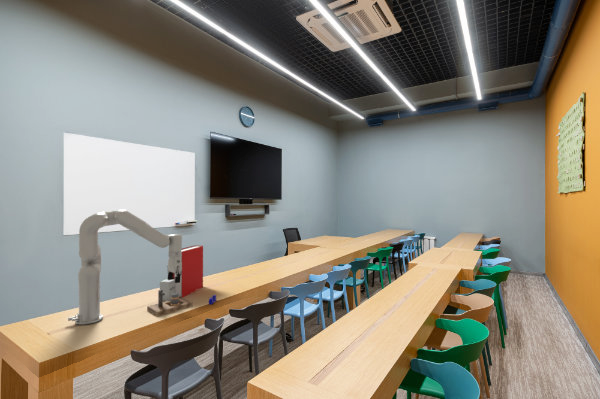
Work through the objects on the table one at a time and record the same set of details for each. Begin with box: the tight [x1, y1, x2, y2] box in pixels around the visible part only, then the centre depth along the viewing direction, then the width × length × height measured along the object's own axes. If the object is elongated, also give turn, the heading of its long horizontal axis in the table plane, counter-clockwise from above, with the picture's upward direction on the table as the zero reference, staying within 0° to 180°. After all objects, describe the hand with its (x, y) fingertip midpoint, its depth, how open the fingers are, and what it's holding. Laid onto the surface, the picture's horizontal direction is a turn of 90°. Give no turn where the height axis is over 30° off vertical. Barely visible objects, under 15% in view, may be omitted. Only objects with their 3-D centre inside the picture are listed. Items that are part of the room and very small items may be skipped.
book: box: [173, 244, 204, 298], centre depth 221 cm, size 27×8×32 cm, turn 166°
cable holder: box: [208, 294, 217, 305], centre depth 197 cm, size 8×4×4 cm, turn 176°
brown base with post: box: [146, 289, 193, 317], centre depth 186 cm, size 22×14×12 cm, turn 138°
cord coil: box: [170, 293, 180, 307], centre depth 188 cm, size 5×5×8 cm
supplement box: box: [159, 278, 175, 302], centre depth 204 cm, size 7×7×13 cm
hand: (173, 281), depth 188 cm, fingers open, 9 cm apart
